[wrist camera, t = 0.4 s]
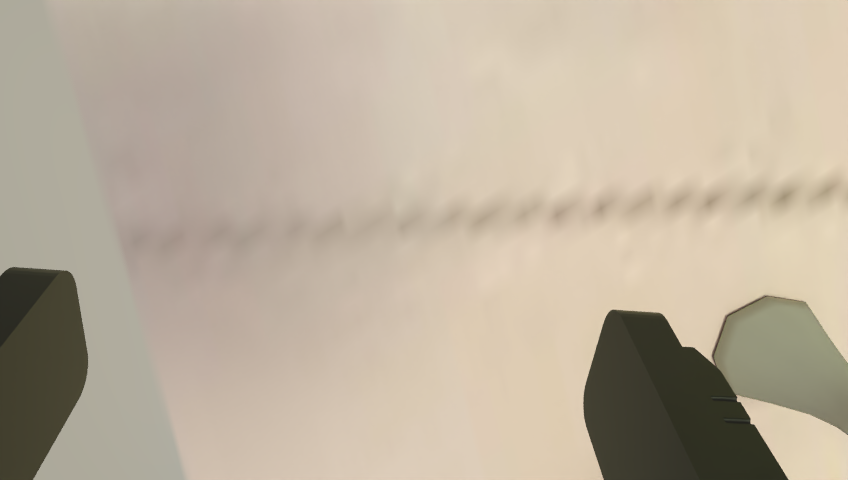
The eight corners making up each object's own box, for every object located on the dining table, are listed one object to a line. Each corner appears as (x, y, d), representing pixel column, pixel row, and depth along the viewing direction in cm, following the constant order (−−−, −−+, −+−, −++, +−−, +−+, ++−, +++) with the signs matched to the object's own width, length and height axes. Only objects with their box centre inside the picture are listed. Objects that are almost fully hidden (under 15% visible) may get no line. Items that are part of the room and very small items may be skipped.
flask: (816, 285, 44) (955, 353, 35) (808, 384, 47) (938, 473, 37) (712, 303, 43) (827, 379, 34) (709, 404, 46) (817, 500, 36)
